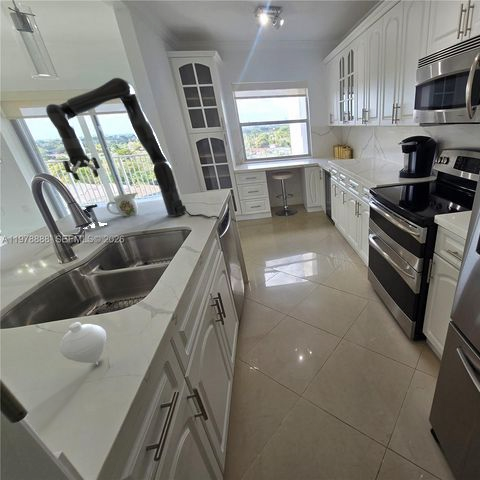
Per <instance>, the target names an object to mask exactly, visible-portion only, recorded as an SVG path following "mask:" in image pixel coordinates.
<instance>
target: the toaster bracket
mask: <svg viewBox="0 0 480 480" xmlns="http://www.w3.org/2000/svg"><path fill="white" fill-rule="evenodd" d="M88 214H89V216H90V215H91V216H90V219H91V221H92V223H93V224H92V225H90V226H89V227H86V228H85V230H88V231H89V230H93V229H95V228H98V227H102V226H105V225H107V223H104V222H100V221H99V220H98V218H97V216H96V213H95V211H94V208H92V209H90V212H89V213H88Z"/></svg>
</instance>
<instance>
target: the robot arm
mask: <svg viewBox="0 0 480 480" xmlns="http://www.w3.org/2000/svg"><path fill="white" fill-rule="evenodd" d="M117 99H119V100H120V102H121V104H122V105H123V107H124V108H125V112H126V114H127V116H128V120H129V125H130V126H131V129H132V131H133V133H134V135H135V137H136V139H137V140H138V142H139V144H140V145H141V146H142V147H143V149H144V150H145V151H146V153H147V155H148V156H149V158H150V160H151V163H152V170H153V174H154V177H155V179H156V183H157V185H158V187H159V190H160V195H161V197H162V200H163V204H164V207H165V210H166V212H167V216H168V217H169V218H170V217H171V218H172V217H179V216H182V215H185V214H186V213H187V215H189V216H190V217H199V216H202V217H205V218H208V219H210V218H211V219H212V218H217V219H220V217H219V216H218V215H210V216H209V215H206V214H202V213H200V214H191V213H189V211H187V207H186V205H185V204H183V201H182V199H181V196H180V193H179V189H178V187H177V183H176V180H175V177H174V173H173V169H172V165H171V163H169V160H168V159H167V158H166V155H165V154H164V153H163V151H162V148H161V146H160V143H159V140H158V138H157V135H156V133H155V131H154V129H153V127H152V125H151V123H150V121H149V119H148V118H147V116H146V114H145V113H144V111H143V109H142V107H141V105H140V103H139V100H138V97H137V95H136V91H135V89H134V87H133V85H132V84H131V83H130V82H128V81H127V80H125V79H123V78H122V77H113V78H112V79H110V80H108V81H107V82H105V83H103V84H102V85H100V86H98V87H96V88H94V89H92V90H89V91H86V92H84V93H81V94H79V95H76V96H73V97H70V98H68V99H67V100H66V101H65V102H62V103H60V104H55V103H50V104H48V105H47V106H46V107H45V112H46V115H47V117H48V119H49V120H50V122H51V124H52V125H53V127H54V128H55V129H56V130H57V133H58V135H59V138H60V140H61V143H62V146H63V148H64V150H65V153H66V155H67V156H68V158H69V160H62V164H63V167H64V169H65V172H66V173H68V174H72V176H73V179H74V180H76V181H80V180H81V179H80V177H79V175H78V173H77V171H78V170H79V169H81V168H89V169H90V170H92V171H91V172H92V174H93V176H94V177H95V178H98V177H99V173H98V170H99V169H100V168H101V167H100V164H99V162H98V160H97V159H96V157H94V156H92V157H89V156H88V154H87V151H86V150H85V147H84V145H83V142H82V141H81V139H80V137H79V135H78V132H77V129H76V128H75V126H73V125H72V124H71V123H70V121H69V120H71V119H74V118H76V117H77V116H78V115H81V114H84V113H86V112H89V111H92V110H94V109H96V108H98V107H99V106H101V105H102V104H104V103H107V102H109V101H112V100H117ZM90 162H92V163H93V164H92V163H90ZM70 165H72V167H71V168H70Z"/></svg>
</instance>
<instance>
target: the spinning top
mask: <svg viewBox="0 0 480 480" xmlns="http://www.w3.org/2000/svg"><path fill="white" fill-rule="evenodd" d="M68 329H69V331H67V332H66V333H65V334H64V335H63V337H62V339H61V342H60V344H59V352H60V354H61V355H62V357H64V358H66V359H67V360H70V361H74V362H79V363H85V364H95V365H96V366H99V363H98V361H99V360H100V358H101V357H102V354H103V352H104V349H105V348H106V347H105V346H106V342H107V333H106V330H105V329H104V328H103V327H102V326H100V325H97V324H92V323H85V324H81V322H79V321H76V322H73V323H71V324H70V325H69V327H68Z"/></svg>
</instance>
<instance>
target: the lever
mask: <svg viewBox="0 0 480 480" xmlns="http://www.w3.org/2000/svg"><path fill="white" fill-rule="evenodd" d="M98 207H99V206H98V204H97V203H94V204H90V205H86V206H84V209H85V210H87V211H88V212H90V209H95V208H98Z"/></svg>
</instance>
